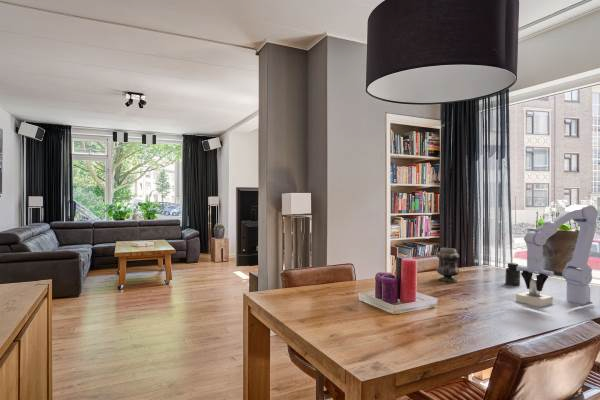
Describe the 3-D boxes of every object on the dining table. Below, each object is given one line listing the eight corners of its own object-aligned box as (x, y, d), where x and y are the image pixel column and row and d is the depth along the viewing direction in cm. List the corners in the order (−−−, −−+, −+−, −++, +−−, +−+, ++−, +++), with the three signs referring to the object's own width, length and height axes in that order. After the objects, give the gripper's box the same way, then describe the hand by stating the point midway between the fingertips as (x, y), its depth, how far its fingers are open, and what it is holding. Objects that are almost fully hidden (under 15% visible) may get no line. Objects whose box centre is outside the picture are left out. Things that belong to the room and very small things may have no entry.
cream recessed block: (524, 294, 176) (524, 285, 176) (565, 303, 161) (565, 294, 161) (499, 299, 167) (499, 290, 167) (541, 310, 151) (541, 300, 151)
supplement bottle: (519, 288, 188) (519, 265, 187) (504, 286, 192) (504, 263, 192) (520, 285, 193) (521, 263, 193) (506, 283, 197) (506, 262, 197)
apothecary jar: (460, 279, 206) (461, 248, 206) (457, 284, 196) (457, 250, 196) (438, 277, 213) (438, 246, 212) (434, 281, 202) (434, 249, 202)
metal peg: (531, 293, 162) (531, 277, 162) (541, 295, 159) (541, 279, 159) (527, 294, 160) (527, 279, 160) (537, 296, 156) (537, 280, 156)
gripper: (512, 257, 163) (512, 287, 163) (547, 262, 151) (547, 294, 151) (521, 256, 167) (521, 285, 167) (556, 261, 154) (556, 292, 154)
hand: (534, 289), depth 159 cm, fingers closed on metal peg, 4 cm apart
